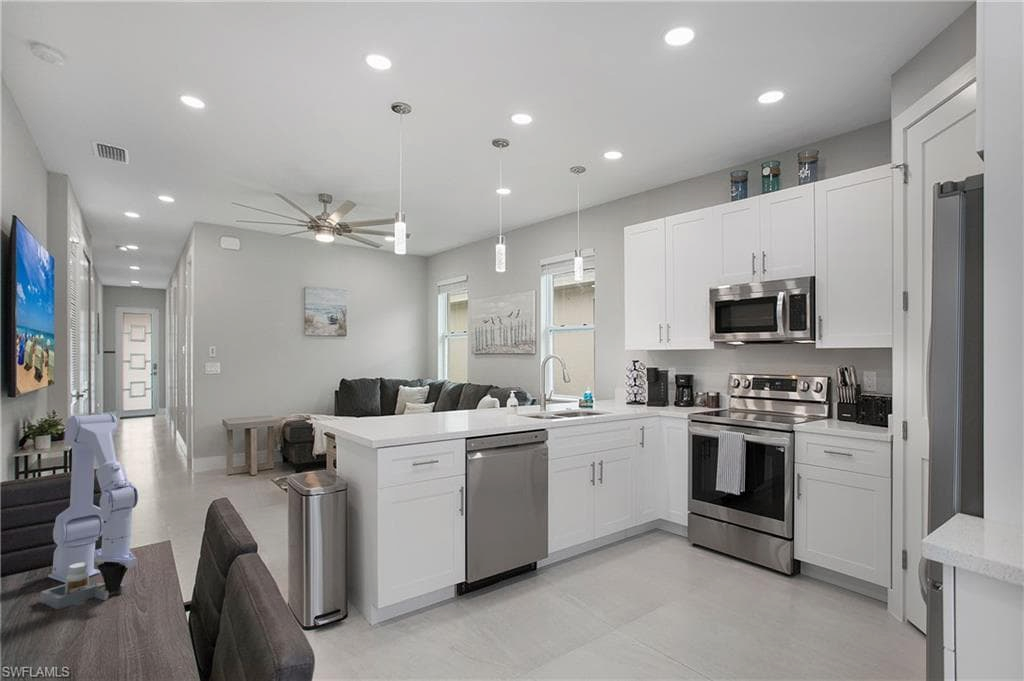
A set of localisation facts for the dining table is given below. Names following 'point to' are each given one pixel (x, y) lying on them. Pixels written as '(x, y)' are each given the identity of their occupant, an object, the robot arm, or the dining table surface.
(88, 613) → the dining table surface
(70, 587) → the pill bottle
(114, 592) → the lock bar
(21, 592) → the dining table surface
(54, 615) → the dining table surface
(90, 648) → the dining table surface
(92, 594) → the dock bay
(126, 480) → the robot arm
